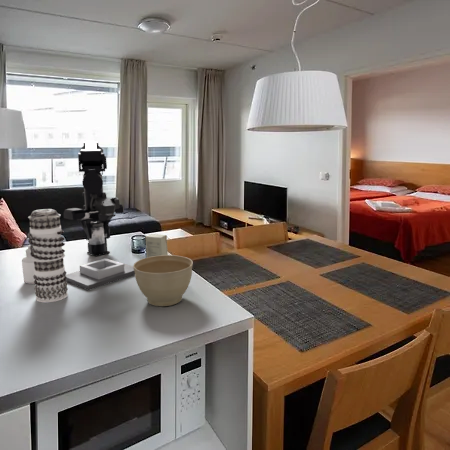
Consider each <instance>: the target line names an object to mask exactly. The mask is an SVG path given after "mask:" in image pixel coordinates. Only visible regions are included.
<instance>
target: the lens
mask: <svg viewBox="0 0 450 450" xmlns="http://www.w3.org/2000/svg"><path fill="white" fill-rule="evenodd" d="M90 225H91V239H89V242H88V243H89V244H91V245H99V244H103V243H105V239H104V224H103V221H91V223H90Z"/></svg>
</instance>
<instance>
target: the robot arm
mask: <svg viewBox="0 0 450 450" xmlns="http://www.w3.org/2000/svg"><path fill="white" fill-rule="evenodd" d="M77 155H78V156H77V157H78V159H77V160H78V173H80V172H81V173H83V174H82V183H81V184H82V186H83V192H81V196H82V197H84V204H83V205H82V208H78V207H72V208H67V209H66V208H65V209H64V211H63V219H67V220H71V221H77V222H78V224H79V225H80V226H81V228H82V230H83V232H84V233H85V240H86V241H88V243H87V252H86V254H87V255H89V256H94V257H99V256H102V255H106V254H110V252H111V251H110V250H108V240H109V239H110V238H111V227H110V225H109V223H110V221H111V220H112V218H113V217H116V214H122V213H125V210H124V206H123V204H122V203H120V199H119V198H118V197H117V196H115V197H111V198H108V197H107V193H106V192H104V181H103V174H102V173H101V172H106V170H107V169H108V167H107V166H108V164H107V163H108V162H107V156H106V155H105V153H104V149H103V148H102V147H101V146H99V141H96V140H84V141H83V146H82V147H81V148H80V149H79V152H78V153H77ZM91 221H103V224H104V239H105V243H103V244H99V245H91V244H89V239H91V225H90V223H91Z"/></svg>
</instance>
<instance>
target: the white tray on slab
mask: <svg viewBox="0 0 450 450" xmlns="http://www.w3.org/2000/svg"><path fill="white" fill-rule="evenodd" d="M65 276H66V277H67V279H66V282H67V283H69V284H72V285H74V286H77V287H78V288H81V289H84V290H87V291H91V290H93V289H96V288H99V287H103V286H105V285H108V284H111V283H114V282H117V281H121V280H124V279H125V278H129V277H133V276H135V271H134V268H133V265H130V264H126V263H123V262H120V261H116V260H111V259H109V258H102V259H99V260H96V261H95V260H94V261H91V262H87V263H85V264H80V265H79V270H78V271H73V272H71V273H66V275H65Z"/></svg>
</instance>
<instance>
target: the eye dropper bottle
mask: <svg viewBox="0 0 450 450" xmlns="http://www.w3.org/2000/svg"><path fill="white" fill-rule="evenodd" d="M27 246H28V247H27V248H26V250H25V257H23V258H22V259H21V266H22V267H21V268H22V275H23V276H22V277H23V281H24V283H26V284H30V285H35V284H34V281H35V279H34V277H33V276H34V268H35V267H34V261H33V260H32V256H31V254H30V253H31V250H30V246H31V244H28V245H27Z"/></svg>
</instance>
